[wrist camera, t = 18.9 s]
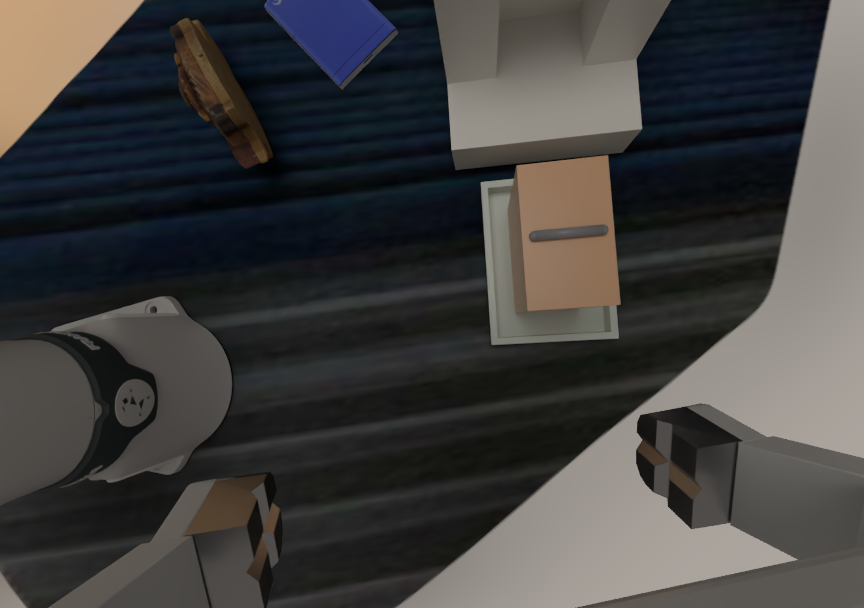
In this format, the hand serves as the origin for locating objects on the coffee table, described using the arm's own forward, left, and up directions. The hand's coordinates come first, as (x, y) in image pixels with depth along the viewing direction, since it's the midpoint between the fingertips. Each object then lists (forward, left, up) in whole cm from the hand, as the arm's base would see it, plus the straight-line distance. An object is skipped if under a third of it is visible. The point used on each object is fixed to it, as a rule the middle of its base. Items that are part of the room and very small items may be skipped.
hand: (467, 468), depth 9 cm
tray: (+7, +8, -32) cm, 34 cm away
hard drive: (-13, +35, -33) cm, 50 cm away
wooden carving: (-23, +26, -32) cm, 48 cm away
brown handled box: (+6, +8, -31) cm, 33 cm away
